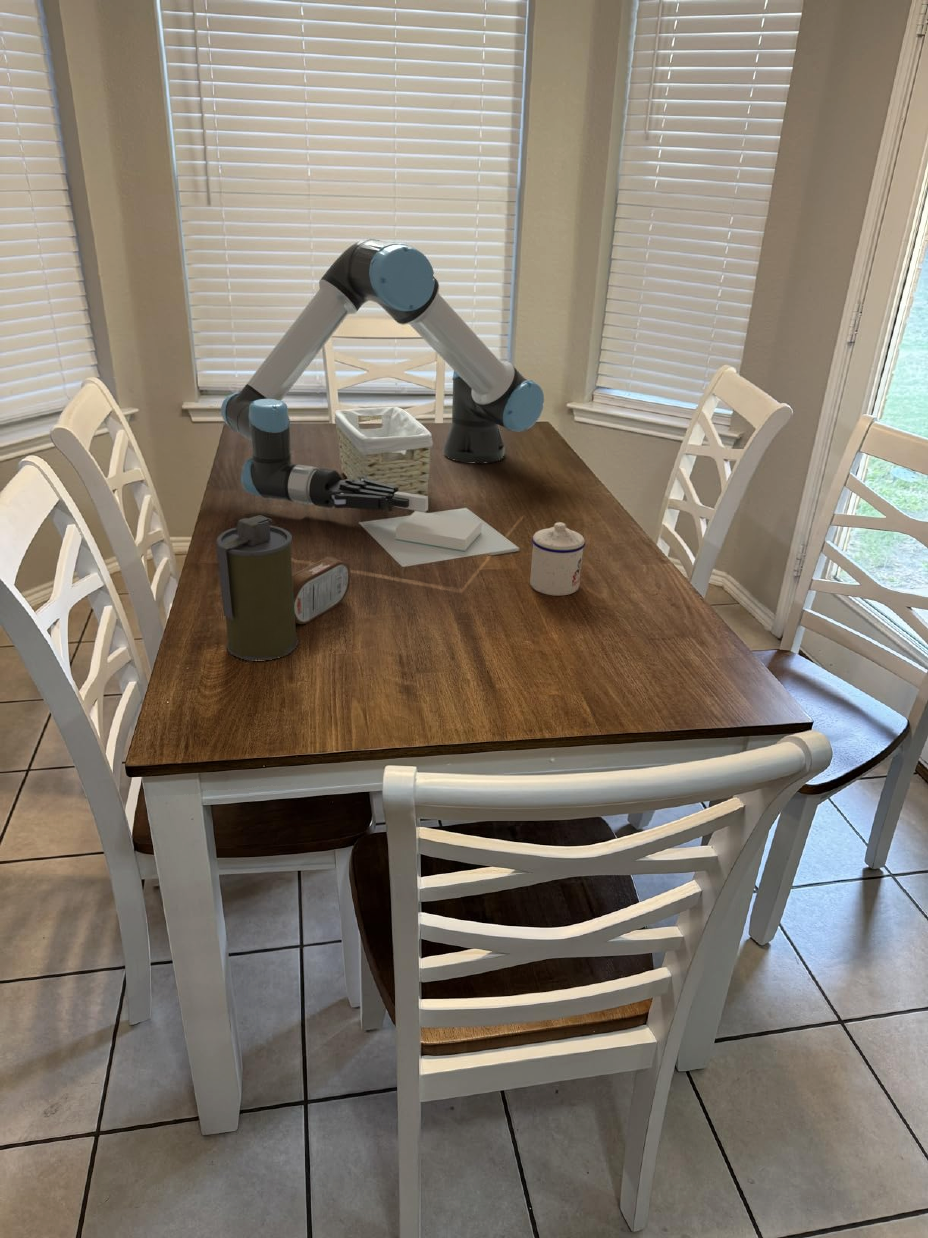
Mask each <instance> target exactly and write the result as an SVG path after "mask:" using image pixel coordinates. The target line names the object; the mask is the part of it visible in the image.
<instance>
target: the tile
mask: <svg viewBox="0 0 928 1238" xmlns="http://www.w3.org/2000/svg"><path fill="white" fill-rule="evenodd" d="M431 513H432V512H422V511H415V510H414V512H413V513H411V514H410V515H408V516H409V517H408V518H407V519H406V520H404V521H403V522H402V523H401V524H400V525H399V526H398V527H396V540H398V541H404V542H409V543H415V544H421V545H427V546H433V547H438V548H444V549H450V550H456V551H462V552H465V551H466V550H467V549H468V548H469V547H470V546H471V544H472V543H473V542H474V541H475V540H476V539H477V538H478V537H479V536H480V534H481V529H482V522H481V521H475V520H468V519H462V518H456V517H450V516H444V515H437V514H431Z"/></svg>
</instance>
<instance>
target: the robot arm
mask: <svg viewBox="0 0 928 1238" xmlns="http://www.w3.org/2000/svg"><path fill="white" fill-rule="evenodd" d="M434 274H435V272H434V268H433V266H432V264H431V262H430V260H429V259H428V258H427V256H426V255H425V254H424V253H422V251H420V250H418V249H417V248H414V247H413V246H411V245H407V244H405V243H398V242H397V243H395V242H389V241H383V240H380V239H374V238H373V239H372V238H367V239H361V240H359V241H357V242H355V243H354V244H352V245H350V246H349V247H348V248H347V249H345V250H344V251H343V252H342V253H341V254H340V256H338V257H337V259H336V260H335V261H334V262H333V263H332V265H330V267H329V268H328V269H327V270H326V272H325V273H324V274H323V276H322V277H321V279H319V281H318V286H319V289H318V290H317V291H316V293H315V295H314V296H313V297H312V298H311V300H310V301H309V302H308V303H307V305H306V306H305V308H304V309H303V310H302V311H301V313H300V314H299V315H298V316H297V318H296V319H295V320H294V322H292V324H291V326H290V327H289V329H288V330H287V331H286V332H285V334H284V335H283V336H282V338H281V339H280V340H279V341H278V342H277V344H276V345H275V347H274V348H273V349H272V350H271V352H270V353H269V354H268V355H267V357H266V358H265V359H264V361H262V363H261V364H260V366H259V367H258V369H257V370H256V371H255V372H254V374H253V375H252V376H251V378H250V379H249V380H248V381H247V383H246V384H245V386H244V387H243V388H242V389H241V391H240V392H234V393H231V394H229V395H228V396H226V397H225V398H224V400H223V401H222V403H221V407H220V413H221V417H222V419H223V421H224V423H225V424H226V425H227V426H228V427H229V428H230V429H231V430H232V431H234V432H236V433H239V434H240V435H242V436H243V437H244V438H246V439H247V440H249V441H250V442H251V450H252V457H250V458H248V459H247V460H246V461H245V462H244V464H243V466H242V469H241V471H242V473H241V475H240V480H241V485H242V487H243V489H244V491H246V492H247V493H248V494H250V495H253V496H254V495H255V496H258V497H261V498H264V499H273V500H281V501H287V502H292V503H293V502H294V503H300V504H301V506H302V505H303V506H306V505H310V506H311V505H314V506H316V507H321V508H327V509H332V508H336V509H360V510H373V511H374V510H377V511H386V510H387V509H388V512H393V511H394V508H397V509H405V510H411V511H414V512H415V511H419V512H425V513H427V511H429V495H426V496H423V495H417V494H410V493H404V492H399V487H397V486H392V485H388V484H385V483H381V482H377V481H373V480H370V479H368V478H366V477H360V481H355V480H353V479H348V478H346V479H343V478H342V477H341V476H340V473H339V472H338V470H334V469H329V468H324V467H323V468H322V467H320V468H319V467H317V466H311V465H304V464H298V463H297V464H296V463H292V453H291V438H290V437H291V436H290V435H291V434H290V433H291V432H290V429H291V428H290V426H291V425H290V423H291V420H290V419H291V418H290V416H289V407H288V406H287V404H286V402H284V401H283V399H284V398H285V396H286V395H287V394H288V392H289V391H290V390H291V389H292V388H293V386H294V385H295V384H296V382H297V381H298V379H300V377H302V375H303V374H304V372H305V371H306V370H307V368H308V367H309V365H310V364H311V363H312V362H313V360H314V359H315V358H316V357H317V356H318V354H319V353H320V352H321V350H322V349H323V348H324V346H325V345H326V344H327V343H328V341H329V340H330V338H332V336H333V335H334V333H335V332H336V331H337V330H338V328H339V327H340V326H341V324H343V322H344V320H345V319H346V318H347V317H348V315H353V314H356V313H357V312H358V310H360V308H361V307H362V306H363V305H364V304H365V303H367V302H369V301H370V302H373V303H376V304H378V305H379V307H381V308H382V309H383V310H384V311H385V312H386V313H387V314H388V315H389V316H390V317H391V318H392V319H393V320H394V321H395V322H396V323H397V324H398V325H410V327H411V328H412V329H414V330H415V332H416V333H417V334H418V335H419V336H420V337H421V338H422V339H423V340H424V341H425V342H426V343H427V344H428V345H429V346H430V347H431V349H432V350H434V351H435V352H436V353H437V354H438V356H440V358H441V359H442V360H443V361H445V363H446V364H447V365H448V366H449V367H450V368H451V369H452V370H453V372H452V373H453V374H452V402H451V403H452V408H451V409H452V411H451V414H452V415H451V424H450V428H449V430H448V434H447V437H446V439H445V442H444V446H443V455H444V454H445V455H446V456H447V457H449V458H450V460H451V459H455V460H458V461H462V462H461V463H463V462H475V463H482V464H485V463H484V462H492V463H495V462H494V461H496V462H498V461H497V460H499V459H501V460H502V458H503V459H504V457H505V444H504V440H503V438H502V434H501V429H500V427H504V428H505V429H507V430H509V431H514V432H523V431H527V430H529V429H531V427H533V426H534V425H535V424H536V423H537V421H538V420H539V419H540V417H541V415H542V412H543V410H544V402H545V396H544V391H543V389H542V388H541V386H540V385H539V384H538V383H536V381H534V380H532V379H531V380H530V379H527V378H525V377H524V376H523V375H522V374H521V373H520V371H519V370H517V368H516V367H515V365H513V364H512V363H511V362H510V361H507V360H499V359H498V357H497V356H495V354H494V353H493V352H492V351H491V349H490V348H489V347H487V345H486V344H485V343H484V342H483V340H481V338H480V337H478V336H477V334H476V333H475V332H474V331H473V330H472V328H470V326H469V325H468V324H467V322H465V321H464V320H463V318H462V317H461V316H460V315H459V314H458V313H457V312H456V311H455V310H454V309H453V308H452V306H451V305H450V304H449V303H448V302H447V301H446V300H445V299H444V298H443V296H441V294H440V293H439V292H440V291H439V290H440V283H439V281H438V280H437V278H436V277H435V276H434ZM445 455H444V456H445ZM446 456H445V457H446ZM503 456H504V457H503ZM447 457H446V458H447ZM449 458H448V459H449ZM458 461H457V462H458ZM499 461H500V460H499Z"/></svg>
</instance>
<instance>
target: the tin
mask: <svg viewBox="0 0 928 1238" xmlns="http://www.w3.org/2000/svg"><path fill="white" fill-rule="evenodd" d="M292 577H293V594H294V612H295V624H298V625H305V624H308V623H310V622H312V621H314V620H315V619H317V618H319V617H320V616H323V615H324V614H326V613H328V612H329V611H331V610H332V609H334V608H336V607H337V606H339V604H341V602H342V601H343V600H344V598H345V597H346V596H347V594H348V592H349V588H350V580H351V569H350V565H348V564H347V563H346V562H345V561H343V560H340V559H338V558H336V557H334V556H326V557H324V558H322V559H320V560H318V561H317V562H314V563H312V564H310V565H309V566H307V567H304V568H302V569H301V570H299V571H297V572H294V573H292Z"/></svg>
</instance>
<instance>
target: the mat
mask: <svg viewBox="0 0 928 1238" xmlns="http://www.w3.org/2000/svg"><path fill="white" fill-rule="evenodd" d="M430 513H431V514H437V515H444V516H450V517H456V518H462V519H468V520H475V521H481V522H482V529H481V534H480V536H479V537H478V538H477V539H476V540H475V541H474V542H473V543H472V544H471V546H470V547H469V548H468V549H467V550H466V551H465V552H462V551H456V550H450V549H444V548H438V547H433V546H427V545H421V544H415V543H409V542H404V541H398V540H396V527H398V526H399V525H400V524H401V523H402V522H403V521H404V520H406V519H407V518H408V517H409V516H410V515H405V516H397V517H390V518H381V519H374V520H367V521H362V522H361V521H359V522H358V524H359V525H360V526H361V527H362V528H363V529H364V530H365V531H366V532H367V533H368V534H369V535H370V536H371V537H372V538H373V539H374V540H375V541H376V542H377V543H378V544H379V545H380V546H381V547H382V549H384V550H385V552H386V553H388V555H390V556H391V557H392V558H393V560H395V561H396V563H398V564H399V566H401V567H402V568H406V567H411V566H418V565H425V564H431V563H435V562H436V563H437V562H443V561H449V560H455V559H460V558H467V557H473V556H479V555H480V556H481V555H484V554H486V555H487V554H488V555H487V556H489V557H490V556H496V555H501V554H508V553H514V552H520V547H518V546H517V545H516V544H515V543H513V542H512V541H510V540H509V539H508V538H507V537H505V536H504V535H503V534H502V533H500V532H499V531H497V530H496V529H495V528H493V527H492V526H491V525H489V524H488V523H487V522H486V521H484V520H483V519H481V517H479V516H478V515H476V514H475V513H474V512H473V511H471V510H470V509H468V508H467V507H463V508H456V509H448V510H442V511H440V510H439V511H431V512H430Z"/></svg>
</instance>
